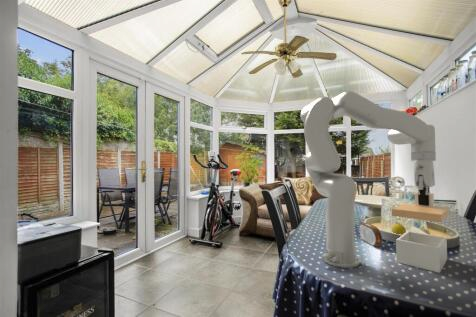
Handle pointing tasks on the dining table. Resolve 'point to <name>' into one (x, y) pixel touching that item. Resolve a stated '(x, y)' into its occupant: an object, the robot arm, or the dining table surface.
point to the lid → (421, 210)
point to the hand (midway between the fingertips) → (424, 204)
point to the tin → (370, 234)
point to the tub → (422, 250)
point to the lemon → (398, 229)
